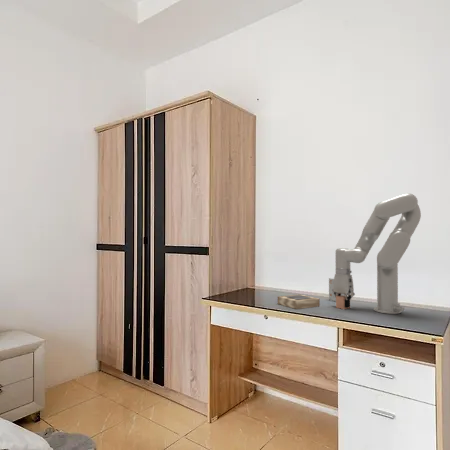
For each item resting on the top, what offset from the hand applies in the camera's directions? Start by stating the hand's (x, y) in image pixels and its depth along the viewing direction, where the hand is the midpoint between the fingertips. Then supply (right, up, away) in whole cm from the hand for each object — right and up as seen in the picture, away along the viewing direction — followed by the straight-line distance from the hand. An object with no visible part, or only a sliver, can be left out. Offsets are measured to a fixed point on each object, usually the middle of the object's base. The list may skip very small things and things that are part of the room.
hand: (343, 306), depth 191 cm
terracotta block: (0, -1, 0) cm, 1 cm away
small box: (+4, -2, +20) cm, 21 cm away
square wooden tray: (-22, -1, +7) cm, 23 cm away
